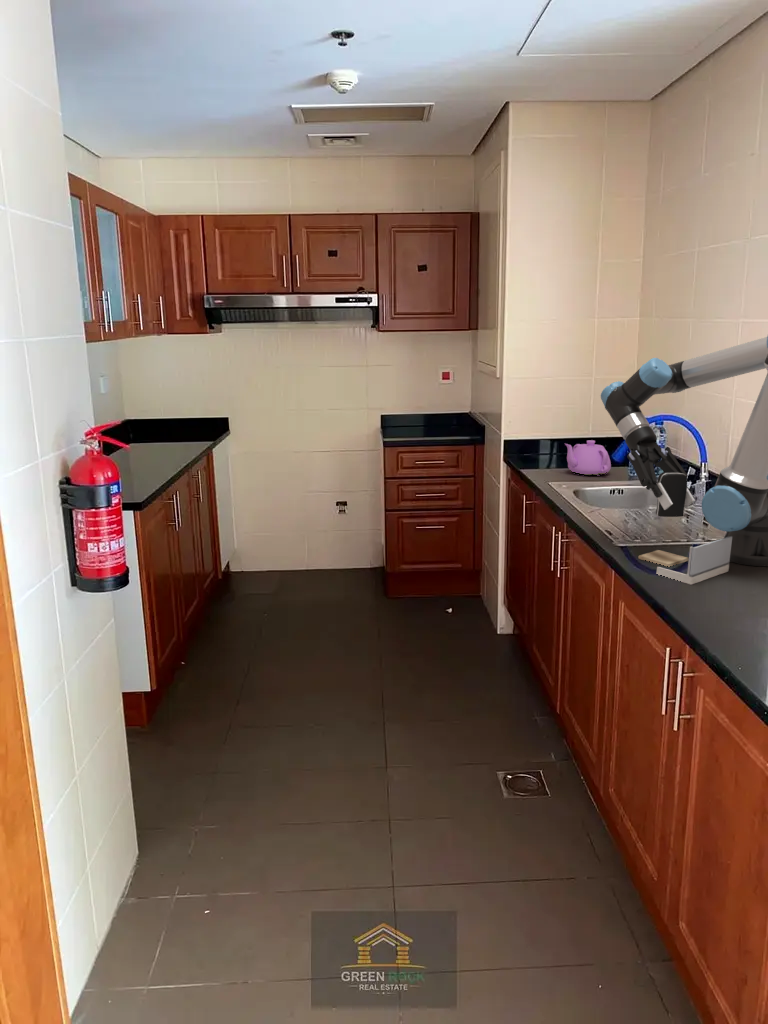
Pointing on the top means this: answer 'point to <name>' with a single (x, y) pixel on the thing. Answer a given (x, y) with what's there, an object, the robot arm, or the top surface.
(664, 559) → the oak pad
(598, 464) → the teapot
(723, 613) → the top surface
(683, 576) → the legged metal plate
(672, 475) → the battery charger
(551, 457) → the top surface
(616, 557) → the top surface
